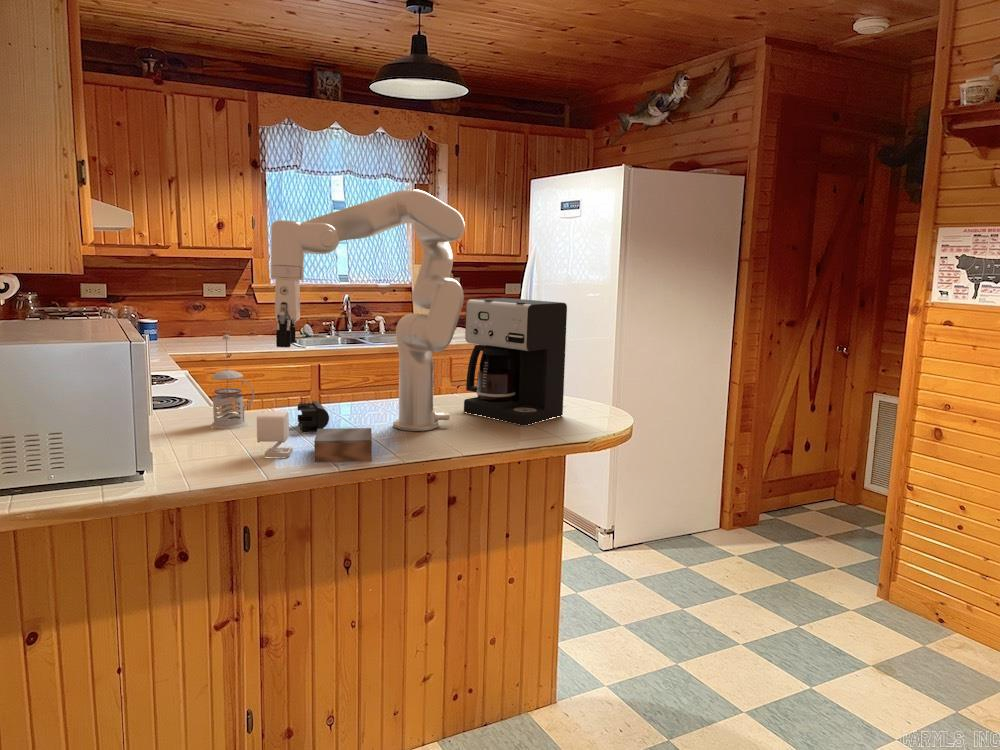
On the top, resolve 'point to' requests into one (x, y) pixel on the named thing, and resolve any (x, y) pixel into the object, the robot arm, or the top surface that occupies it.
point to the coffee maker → (516, 358)
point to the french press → (229, 400)
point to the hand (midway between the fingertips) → (286, 344)
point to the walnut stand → (343, 445)
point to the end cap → (312, 417)
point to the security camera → (274, 432)
